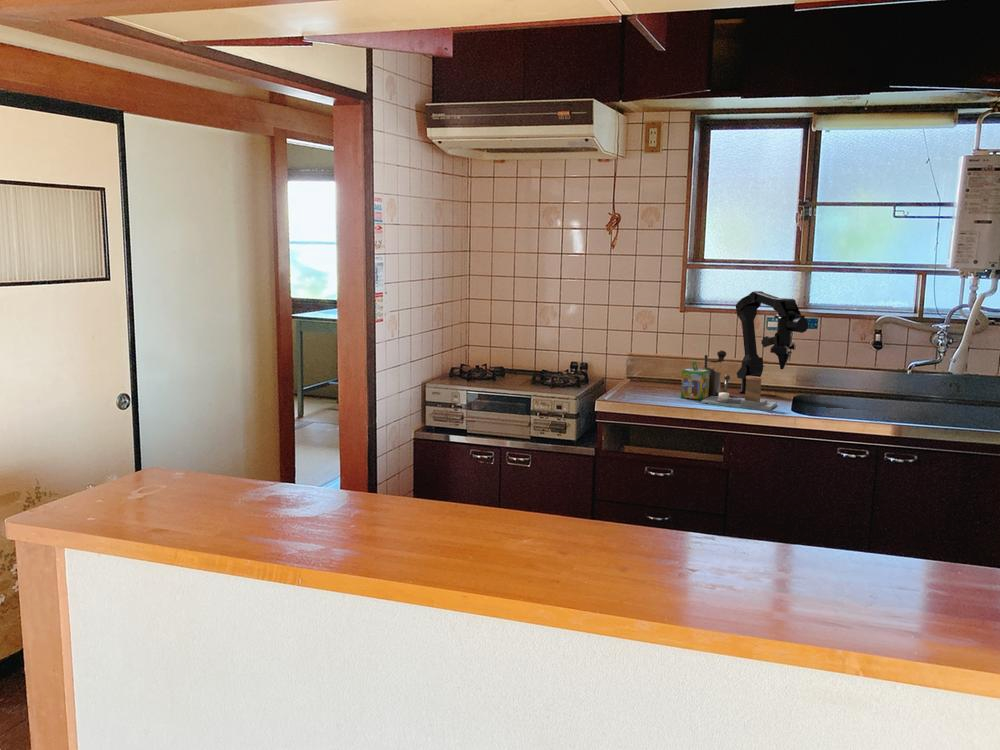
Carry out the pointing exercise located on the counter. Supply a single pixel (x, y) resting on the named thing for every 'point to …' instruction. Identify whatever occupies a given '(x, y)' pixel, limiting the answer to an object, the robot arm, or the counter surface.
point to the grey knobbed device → (714, 374)
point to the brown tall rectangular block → (753, 388)
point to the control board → (713, 401)
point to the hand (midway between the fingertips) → (781, 369)
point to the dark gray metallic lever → (726, 383)
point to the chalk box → (695, 383)
